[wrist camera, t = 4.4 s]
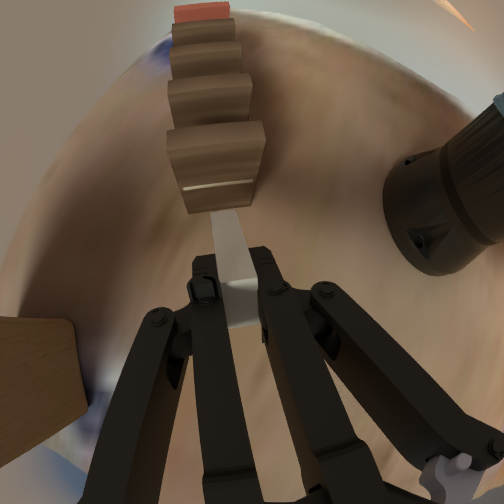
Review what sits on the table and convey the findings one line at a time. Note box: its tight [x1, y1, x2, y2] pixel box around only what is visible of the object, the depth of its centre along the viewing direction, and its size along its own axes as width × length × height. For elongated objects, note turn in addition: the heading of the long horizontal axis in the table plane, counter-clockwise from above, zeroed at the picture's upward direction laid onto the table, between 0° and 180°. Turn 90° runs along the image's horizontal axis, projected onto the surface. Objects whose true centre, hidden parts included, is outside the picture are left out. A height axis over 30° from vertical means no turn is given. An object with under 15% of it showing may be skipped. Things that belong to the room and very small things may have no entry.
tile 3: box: [169, 41, 243, 80], centre depth 23 cm, size 2×6×11 cm, turn 99°
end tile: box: [174, 2, 230, 23], centre depth 25 cm, size 2×6×11 cm, turn 99°
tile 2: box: [168, 73, 253, 129], centre depth 22 cm, size 2×6×11 cm, turn 99°
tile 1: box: [167, 120, 266, 214], centre depth 21 cm, size 2×6×11 cm, turn 100°
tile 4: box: [172, 18, 235, 47], centre depth 24 cm, size 2×6×11 cm, turn 99°
